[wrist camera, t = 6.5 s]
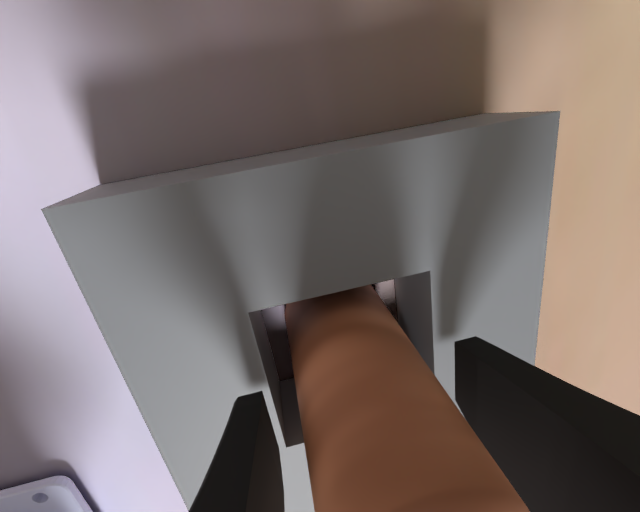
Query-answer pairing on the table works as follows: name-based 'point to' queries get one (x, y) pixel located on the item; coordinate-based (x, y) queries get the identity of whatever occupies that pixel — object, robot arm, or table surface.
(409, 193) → the socket block
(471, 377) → the robot arm
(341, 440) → the peg
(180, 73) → the table surface
